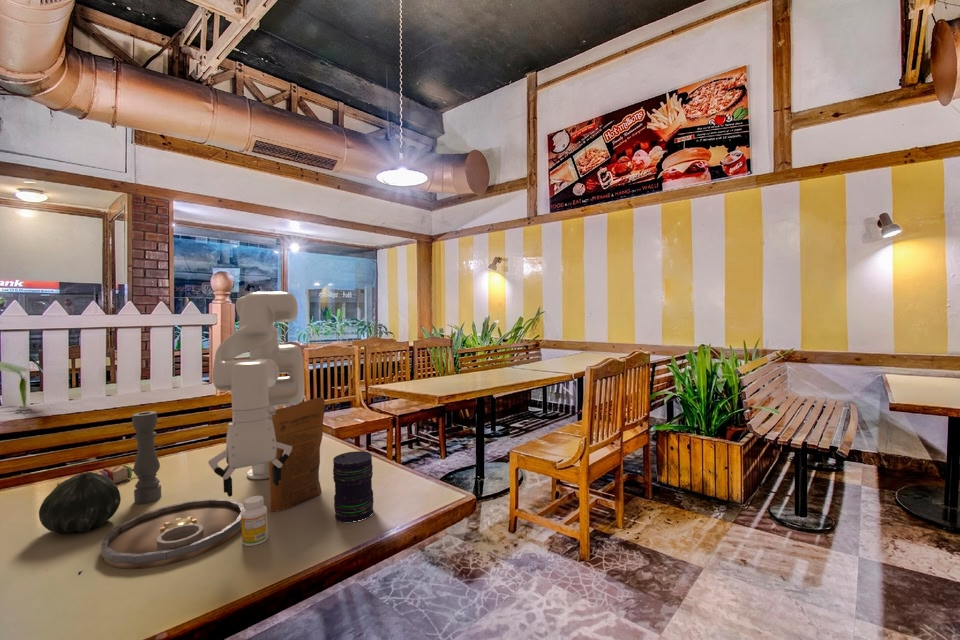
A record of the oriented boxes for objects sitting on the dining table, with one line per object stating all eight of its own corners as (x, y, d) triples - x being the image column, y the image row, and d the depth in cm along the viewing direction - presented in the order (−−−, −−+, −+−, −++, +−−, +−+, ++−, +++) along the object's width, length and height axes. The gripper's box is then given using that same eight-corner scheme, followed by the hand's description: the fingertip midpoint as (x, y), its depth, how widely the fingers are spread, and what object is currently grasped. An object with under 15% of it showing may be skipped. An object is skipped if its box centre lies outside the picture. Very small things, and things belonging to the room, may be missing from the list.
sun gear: (195, 519, 111) (195, 513, 111) (197, 530, 105) (197, 524, 105) (160, 528, 107) (159, 522, 107) (160, 540, 101) (160, 534, 101)
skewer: (64, 500, 128) (63, 483, 128) (55, 496, 131) (54, 480, 131) (146, 476, 146) (145, 461, 146) (136, 473, 149) (136, 458, 149)
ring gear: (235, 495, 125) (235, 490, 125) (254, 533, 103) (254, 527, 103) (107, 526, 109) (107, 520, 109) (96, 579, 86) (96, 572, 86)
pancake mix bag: (334, 491, 130) (332, 396, 129) (275, 517, 114) (271, 410, 113) (319, 486, 133) (316, 395, 133) (260, 512, 117) (256, 407, 117)
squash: (63, 496, 117) (44, 466, 108) (132, 488, 123) (119, 459, 114) (42, 551, 108) (19, 523, 98) (118, 539, 113) (103, 512, 104)
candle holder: (146, 505, 123) (143, 416, 123) (128, 503, 125) (125, 415, 124) (166, 495, 129) (163, 411, 129) (149, 494, 131) (145, 410, 130)
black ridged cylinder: (381, 508, 118) (379, 452, 117) (359, 525, 108) (357, 465, 108) (349, 503, 121) (348, 449, 121) (326, 520, 112) (324, 461, 111)
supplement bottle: (248, 535, 105) (247, 495, 105) (271, 533, 105) (270, 493, 105) (237, 547, 99) (236, 504, 99) (262, 545, 100) (261, 503, 100)
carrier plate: (235, 499, 125) (235, 486, 125) (254, 538, 103) (254, 523, 103) (107, 531, 109) (106, 516, 109) (96, 585, 86) (95, 567, 86)
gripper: (286, 407, 110) (288, 476, 110) (205, 418, 99) (207, 494, 99) (294, 411, 104) (296, 484, 104) (209, 424, 93) (211, 504, 93)
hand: (253, 489), depth 102 cm, fingers open, 9 cm apart
